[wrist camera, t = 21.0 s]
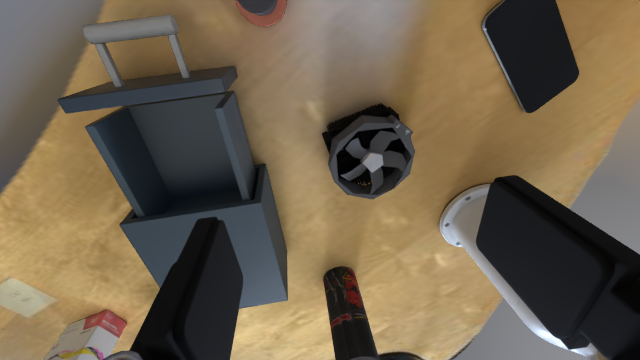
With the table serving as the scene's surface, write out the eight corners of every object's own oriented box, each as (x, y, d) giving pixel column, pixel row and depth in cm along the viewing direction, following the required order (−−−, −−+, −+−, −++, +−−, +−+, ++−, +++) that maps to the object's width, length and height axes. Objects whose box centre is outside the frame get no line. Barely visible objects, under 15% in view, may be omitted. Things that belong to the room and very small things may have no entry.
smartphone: (545, -35, 27) (581, 76, 34) (539, -34, 28) (576, 76, 34) (481, 22, 29) (527, 116, 36) (477, 22, 30) (523, 115, 36)
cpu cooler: (345, 210, 34) (318, 141, 29) (337, 186, 39) (313, 124, 34) (423, 182, 33) (409, 106, 28) (405, 161, 38) (390, 94, 33)
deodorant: (317, 276, 48) (329, 368, 35) (346, 262, 47) (369, 351, 34) (332, 292, 51) (349, 383, 38) (360, 279, 50) (386, 368, 37)
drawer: (80, 29, 25) (14, 31, 19) (221, 11, 26) (201, 8, 20) (166, 201, 36) (142, 239, 30) (265, 186, 37) (262, 220, 30)
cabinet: (155, 180, 35) (118, 224, 27) (265, 163, 36) (260, 202, 28) (198, 266, 44) (180, 319, 36) (287, 251, 44) (287, 300, 37)
